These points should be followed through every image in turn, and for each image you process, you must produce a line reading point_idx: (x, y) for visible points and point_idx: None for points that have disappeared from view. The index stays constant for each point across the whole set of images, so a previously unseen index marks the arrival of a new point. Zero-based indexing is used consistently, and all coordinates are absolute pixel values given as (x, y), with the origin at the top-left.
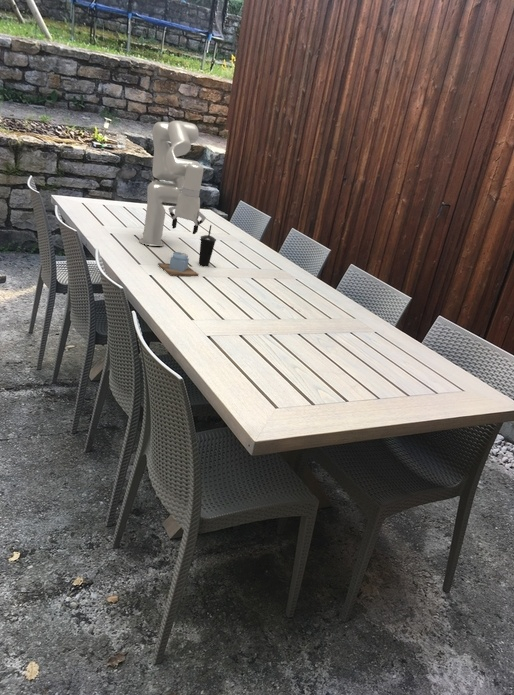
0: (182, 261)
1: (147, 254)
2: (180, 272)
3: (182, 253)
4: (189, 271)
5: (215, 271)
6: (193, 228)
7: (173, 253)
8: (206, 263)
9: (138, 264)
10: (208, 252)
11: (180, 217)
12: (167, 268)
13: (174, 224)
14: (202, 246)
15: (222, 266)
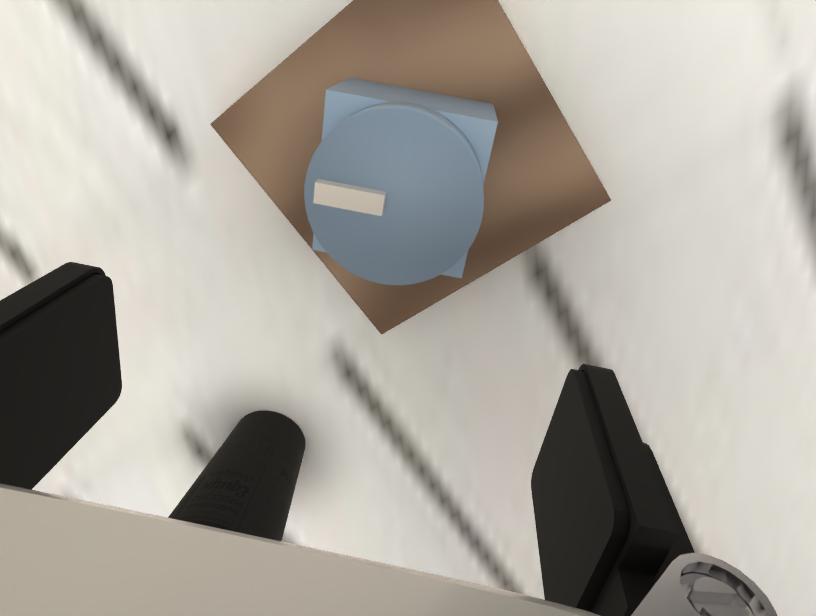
0: (349, 93)
1: (701, 430)
2: (366, 44)
3: (380, 260)
4: (300, 147)
5: (157, 353)
6: (16, 331)
7: (477, 179)
8: (236, 429)
9: (803, 100)
10: (195, 490)
11: (424, 573)
12: (507, 89)
13: (591, 428)
14: (240, 530)
15: (159, 482)
